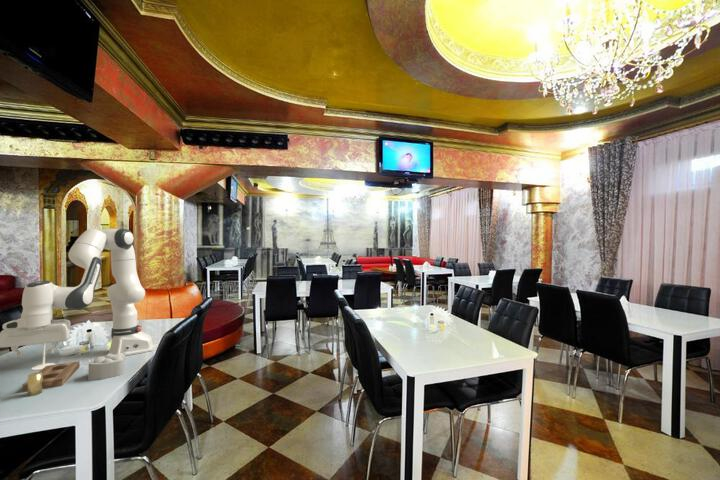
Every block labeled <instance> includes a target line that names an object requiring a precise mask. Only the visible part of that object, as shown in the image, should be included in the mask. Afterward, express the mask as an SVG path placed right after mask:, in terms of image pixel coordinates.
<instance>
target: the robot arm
mask: <svg viewBox="0 0 720 480" xmlns="http://www.w3.org/2000/svg"><path fill="white" fill-rule="evenodd" d="M134 242H135V236H134V233H133V232H132V231H131V230H129V229H127V228H105V229H96V228H94V229H93V228H91V229H86V230H85V231H84V232H82V233H81V234H80V235H79V237H78V238H77V239H76V240H75V241H74V243H73V244H72V246H71V247H70V249H69V251H68V259H69V260H70V262H71V263H73V264H74V265H75V266H78V267H80V268H82V269H84V273H83V276H82V278H81V282H80V283H79V284H78V285H76V286H60V285H56V284H54V283H53V281H51V280H39V281H33V282H30V283H28V284H26V285H25V287H24V289H23V292H22V297H21V306H22V312H21V315H20V318H15V319H13V320H10V321H8V322H5V323H3V324H2V330H1V331H0V349H1V348H10V350H11V351H12V352H13V353H14V358H21V357H22V356H23V351H20V350H19V348H20V347H22V346H23V347H24V346H29V345H31V346H32V345H43V344H44V343H46V344H51V346H52V347H51V348H48V349H47V354H48V355H49V354H54V352H55V348H56V347H57V346H58V345H59V343H61V342H62V343H63V342H67V341H68V340H69V339H70V338H71V323H72V322H71V321H70V320H69V319H67V318H64V319H62V318H61V319H53V316H54V311H53V310H73V311H75V310H76V311H81V310H84V309H86V308H88V307H89V306H90V305H91V304H92V302H94V301H93V300H94V298H95V290H96V287H97V284H98V281H99V277H100V274H101V270H102V266H103V261H102V259H101V258H100V257H101V254H102V252H103V251H104V250H110V264H111V275H112V277H113V278H114V280H115V282H116V283H114V284H111V285H110V286H109V287H108V288H107V291H106V295H107V297H108V299H109V302H110V306H111V307H110V308H111V311H112V328H111V331H110V334H111V336H110V337H111V342H110V347H109V351H108V353H107V354H113V355H115V354H122V355H125V357H126V356H132V355H138V354H142V353H147V352H152V351H154V350H156V349H157V347H158V344H157V343H156V342H153V337H152V336H151V335H150V334H148V333H146V332H144V331H142V325H139V324H138V310H137V309H136V307H135V304H136V303H139V302H141V301H142V300H143V299H144V298H145V297H146V290H145V288H144V287H143V285H142V284H141V281H140V278H139V275H138V271H137V261H136V260H137V259H136V252H135V249H134V245H133V244H134Z"/></svg>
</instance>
